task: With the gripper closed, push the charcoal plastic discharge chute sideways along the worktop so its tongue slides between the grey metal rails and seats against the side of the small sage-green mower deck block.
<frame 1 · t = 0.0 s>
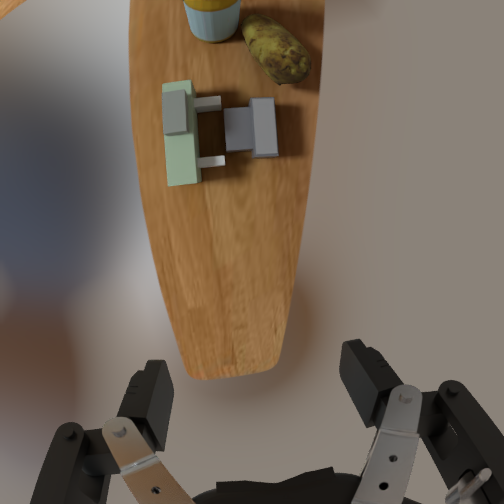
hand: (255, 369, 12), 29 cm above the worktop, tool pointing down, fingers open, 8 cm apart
mower deck: (202, 135, 35), on the worktop
chute: (249, 128, 33), point 2 cm above the worktop, slide at 3.5 cm
potato: (271, 56, 33), on the worktop
bottle: (214, 27, 31), on the worktop
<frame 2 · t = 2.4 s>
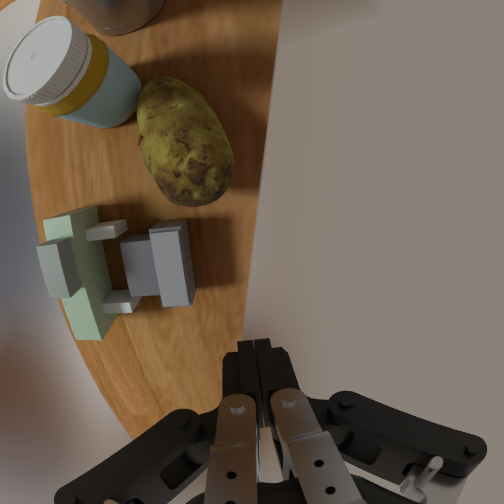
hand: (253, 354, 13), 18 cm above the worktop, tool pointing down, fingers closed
mower deck: (110, 262, 28), on the worktop
chute: (157, 264, 27), point 2 cm above the worktop, slide at 3.5 cm
potato: (188, 139, 26), on the worktop
bottle: (114, 99, 24), on the worktop
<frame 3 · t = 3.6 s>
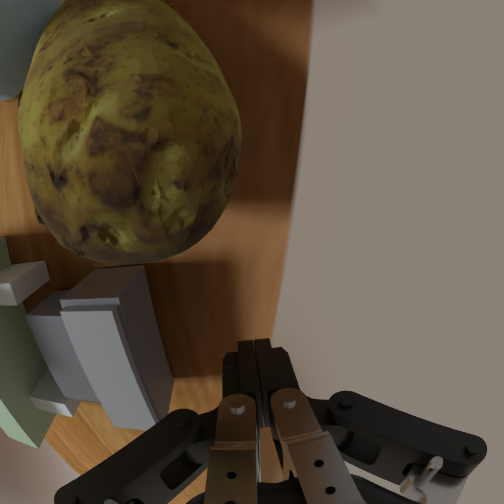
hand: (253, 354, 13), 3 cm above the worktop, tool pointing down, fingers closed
mower deck: (36, 327, 14), on the worktop
chute: (96, 353, 12), point 2 cm above the worktop, slide at 3.5 cm
potato: (146, 102, 11), on the worktop
bottle: (34, 53, 9), on the worktop
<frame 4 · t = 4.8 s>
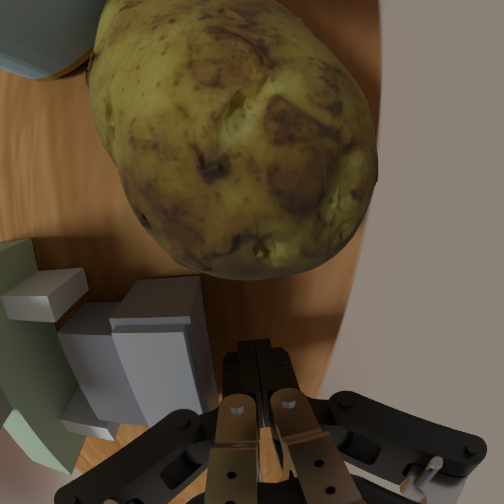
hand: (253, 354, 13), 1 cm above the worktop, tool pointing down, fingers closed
mower deck: (66, 341, 13), on the worktop
chute: (141, 373, 11), point 2 cm above the worktop, slide at 2.9 cm, touching gripper
potato: (218, 94, 11), on the worktop
bottle: (74, 30, 9), on the worktop
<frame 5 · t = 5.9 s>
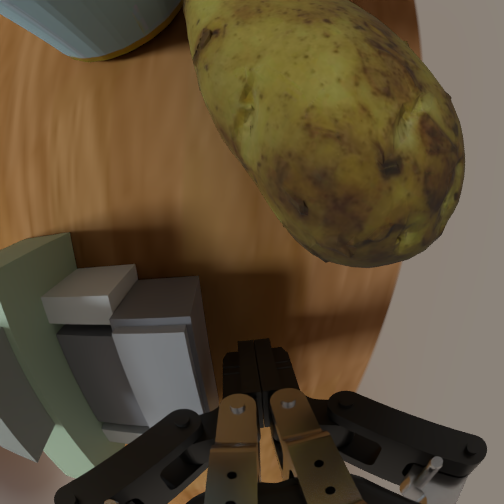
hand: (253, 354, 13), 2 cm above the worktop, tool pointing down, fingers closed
mower deck: (106, 345, 13), on the worktop
chute: (140, 373, 11), point 2 cm above the worktop, slide at -0.2 cm, touching gripper
potato: (285, 92, 11), on the worktop
bottle: (122, 12, 9), on the worktop
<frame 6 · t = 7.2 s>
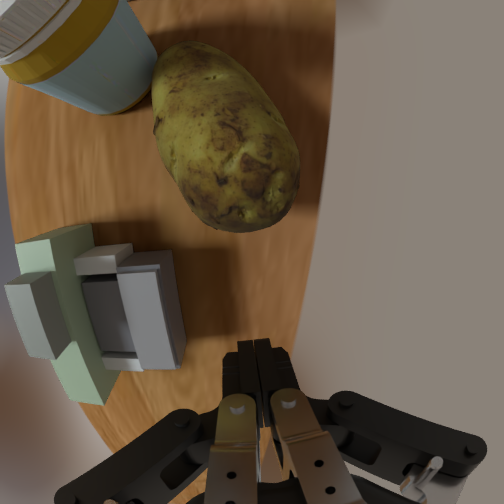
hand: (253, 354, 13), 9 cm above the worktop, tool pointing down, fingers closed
mower deck: (111, 300, 21), on the worktop
chute: (132, 312, 19), point 2 cm above the worktop, slide at 0.0 cm
potato: (222, 132, 19), on the worktop
bottle: (119, 77, 17), on the worktop
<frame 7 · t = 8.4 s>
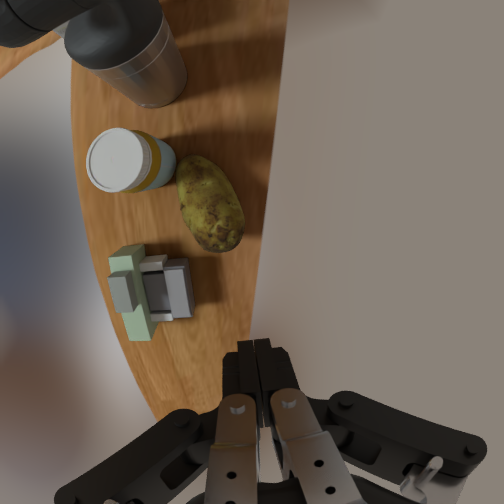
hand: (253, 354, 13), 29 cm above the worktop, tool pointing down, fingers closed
mower deck: (154, 284, 41), on the worktop
chute: (168, 289, 39), point 2 cm above the worktop, slide at 0.0 cm
potato: (211, 198, 39), on the worktop
bottle: (154, 164, 37), on the worktop
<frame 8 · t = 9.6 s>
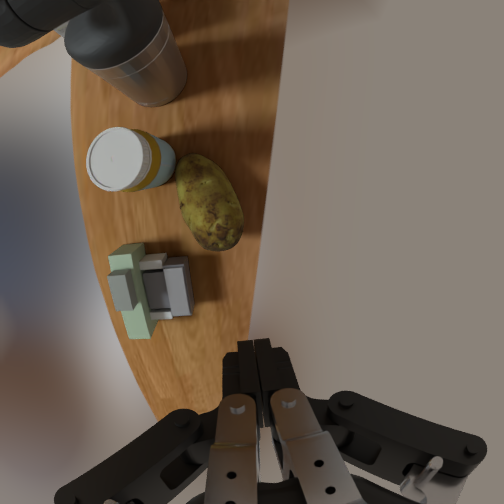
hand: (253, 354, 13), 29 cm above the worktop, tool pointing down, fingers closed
mower deck: (153, 282, 42), on the worktop
chute: (168, 287, 39), point 2 cm above the worktop, slide at 0.0 cm
potato: (210, 197, 39), on the worktop
bottle: (154, 163, 37), on the worktop
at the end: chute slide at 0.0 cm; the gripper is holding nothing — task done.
